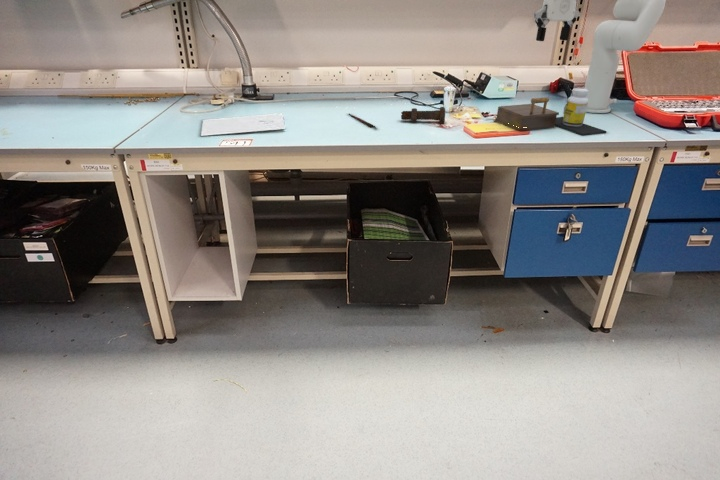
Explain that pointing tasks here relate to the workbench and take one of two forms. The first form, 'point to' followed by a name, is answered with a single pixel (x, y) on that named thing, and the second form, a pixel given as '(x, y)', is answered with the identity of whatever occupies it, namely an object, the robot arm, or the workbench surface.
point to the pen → (364, 122)
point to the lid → (530, 109)
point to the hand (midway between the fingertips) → (551, 40)
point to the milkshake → (449, 98)
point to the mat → (578, 128)
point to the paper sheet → (242, 124)
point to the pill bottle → (576, 108)
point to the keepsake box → (525, 121)
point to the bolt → (424, 115)
